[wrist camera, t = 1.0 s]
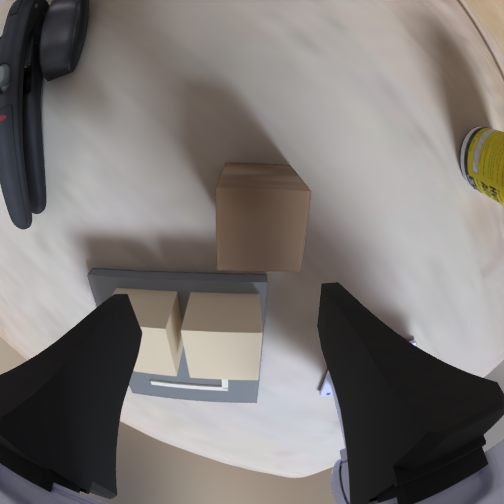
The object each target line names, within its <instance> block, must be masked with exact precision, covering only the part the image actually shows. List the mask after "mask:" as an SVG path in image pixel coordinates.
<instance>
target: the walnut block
mask: <svg viewBox="0 0 504 504" xmlns="http://www.w3.org/2000/svg"><path fill="white" fill-rule="evenodd" d="M310 196H311V190H310V189H309V188H308V187H307V185H306V184H305V183H304V182H303V180H302V179H301V178H300V177H299V175H298V174H297V173H296V172H295V170H294V169H293V168H292V167H291V166H290V165H277V164H254V163H225V166H224V168H223V171H222V173H221V176H220V178H219V181H218V183H217V186H216V241H217V270H229V271H281V272H301V267H302V260H303V253H304V246H305V238H306V230H307V222H308V214H309V205H310Z"/></svg>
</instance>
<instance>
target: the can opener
mask: <svg viewBox="0 0 504 504" xmlns="http://www.w3.org/2000/svg"><path fill="white" fill-rule="evenodd" d="M88 12H89V0H52V3H51V5H50V6H49V4H48V2H47V1H46V0H16V1H15V2H14V4H13V5H12V7H11V8H10V10H9V13H8V16H7V19H6V23H5V26H4V30H3V35H1V37H0V184H1V188H2V192H3V196H4V199H5V203H6V206H7V209H8V212H9V215H10V218H11V220H12V222H13V223H14V225H15V226H16V227H18V228H20V229H27V228H29V227H30V226H31V223H32V213H34V214H39V213H41V212H42V211H43V210H44V209H45V207H46V185H45V169H44V157H43V145H42V131H41V114H40V94H41V84H42V78H43V75H44V78H45V79H46V80H47V81H50V80H53V79H55V78H58V77H61V76H63V75H66V74H68V73H71V72H73V71H74V69H75V67H76V65H77V63H78V60H79V58H80V55H81V52H82V48H83V45H84V41H85V36H86V31H87V24H88Z"/></svg>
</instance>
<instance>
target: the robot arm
mask: <svg viewBox="0 0 504 504" xmlns="http://www.w3.org/2000/svg"><path fill="white" fill-rule="evenodd" d="M317 326H318V332H319V337H320V342H321V347H322V351H323V354H324V358H325V361H326V364H327V367H328V372H327V374H326V377H325V380H324V382H323V385H322V387H321V390H320V396H332V395H333V396H334V400H335V405H336V409H337V413H338V417H339V421H340V426H341V430H342V434H343V439H344V443H345V449H342V450H340V454H341V459H339V460H338V461H337V462H336V463H335V465H334V468H333V470H332V473H331V488H332V493H333V496H334V499H335V501H336V503H337V504H504V439H503V440H502V441H501V442H499V443H498V444H496V445H495V446H493V447H492V448H490V449H489V450H488V451H486V452H485V453H484V451H483V449H482V446H484V445H485V444H486V440H485V438H484V436H483V435H484V433H486V432H487V431H488V430H489V429H490V428H491V427H492V426H493V425H494V424H495V423H496V422H497V421H498V420H499V419H500V418H501V417H502V416H503V415H504V393H503V391H502V390H501V388H500V386H499V385H498V383H497V382H494V381H491V380H488V379H485V378H482V377H479V376H476V375H473V374H470V373H467V372H465V371H463V370H460V369H458V368H456V367H453V366H451V365H449V364H447V363H445V362H443V361H441V360H439V359H437V358H435V357H433V356H432V355H430V354H428V353H426V352H424V351H423V350H421V349H419V348H418V347H416V341H415V340H412V341H407V340H406V339H404V338H403V337H401V336H400V335H399V334H397V333H396V332H394V331H393V330H392V329H391V328H389V327H388V326H387V325H386V324H384V323H383V322H382V321H381V320H379V319H378V318H377V317H376V316H375V315H373V314H372V313H371V312H370V311H369V310H368V309H367V308H365V307H364V306H363V305H362V304H361V303H360V302H359V301H358V300H357V299H356V298H354V297H353V296H352V295H351V294H350V293H349V292H348V291H347V290H346V289H345V288H344V287H343V286H342V285H340V284H339V283H338V282H336V283H325V284H322V286H321V297H320V307H319V316H318V325H317ZM141 339H142V330H141V328H140V325H139V323H138V320H137V318H136V315H135V312H134V310H133V307H132V304H131V302H130V299H129V296H128V294H114V295H112V296H111V297H109V298H108V299H107V300H105V301H104V302H103V303H102V304H100V305H99V306H98V307H97V308H96V309H95V310H93V311H92V312H91V313H90V314H89V315H87V316H86V317H85V318H84V319H83V320H82V321H80V322H79V323H78V324H77V325H76V326H75V327H73V328H72V329H71V330H70V331H68V332H67V333H66V334H65V335H63V336H62V337H61V338H60V339H59V340H57V341H56V342H55V343H53V344H52V345H51V346H49V347H48V348H46V349H45V350H44V351H42V352H41V353H39V354H38V355H36V356H35V357H33V358H31V359H29V360H28V361H26V362H24V363H23V364H21V365H19V366H18V367H16V368H14V369H12V370H10V371H8V372H6V373H3V374H1V375H0V504H109V503H106V502H103V501H99V500H97V499H93V498H91V497H88V496H85V495H83V494H80V493H79V492H80V491H82V492H84V493H87V494H89V493H93V494H96V495H99V496H102V497H105V498H109V499H112V498H114V497H115V496H117V488H116V447H117V436H118V427H119V421H120V415H121V409H122V405H123V401H124V398H125V395H126V391H127V388H128V385H129V382H130V379H131V376H132V373H133V370H134V367H135V364H136V361H137V358H138V354H139V349H140V345H141Z"/></svg>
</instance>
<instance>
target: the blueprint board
mask: <svg viewBox="0 0 504 504" xmlns="http://www.w3.org/2000/svg"><path fill="white" fill-rule="evenodd" d="M87 276H88V280H89V283H90V286H91V290H92V293H93V296H94V299H95V302H96V305H97V307H98V306H99V305H100V304H102V303H103V302H104V301H105V300H107V299H108V298H109V297H111V296H112V295H114V294H128V296H129V299H130V302H131V304H132V307H133V310H134V312H135V315H136V318H137V320H138V323H139V325H140V328H141V330H142V339H141V345H140V349H139V354H138V358H137V361H136V364H135V367H134V370H133V373H132V376H131V379H130V382H129V386H130V388H131V390H132V392H133V393H137V394H143V395H150V396H157V397H165V398H174V399H184V400H196V401H210V402H234V403H257V397H258V387H259V377H260V366H261V356H262V345H263V334H264V323H265V311H266V299H267V287H268V280H267V275H247V274H208V273H177V272H152V271H129V270H109V269H92V270H91V271H90V272H89V274H88V275H87Z"/></svg>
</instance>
